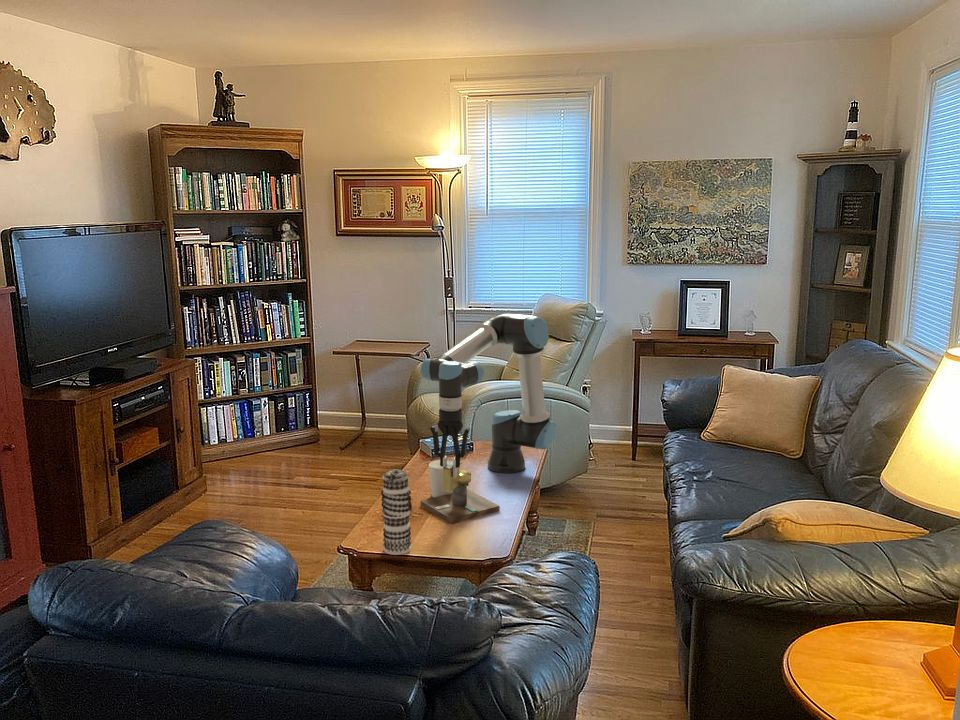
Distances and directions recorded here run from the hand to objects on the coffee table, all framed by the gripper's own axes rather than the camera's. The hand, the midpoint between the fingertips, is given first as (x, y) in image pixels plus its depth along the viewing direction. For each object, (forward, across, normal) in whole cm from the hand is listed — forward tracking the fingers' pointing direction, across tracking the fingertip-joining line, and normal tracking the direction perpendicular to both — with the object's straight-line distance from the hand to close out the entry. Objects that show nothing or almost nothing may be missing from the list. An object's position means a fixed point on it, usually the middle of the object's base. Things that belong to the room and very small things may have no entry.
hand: (450, 475), depth 266 cm
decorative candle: (+15, -10, -28) cm, 33 cm away
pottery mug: (+16, -18, 0) cm, 24 cm away
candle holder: (+15, -8, +20) cm, 27 cm away
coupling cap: (+5, +1, +5) cm, 7 cm away
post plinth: (+15, +1, +9) cm, 17 cm away
